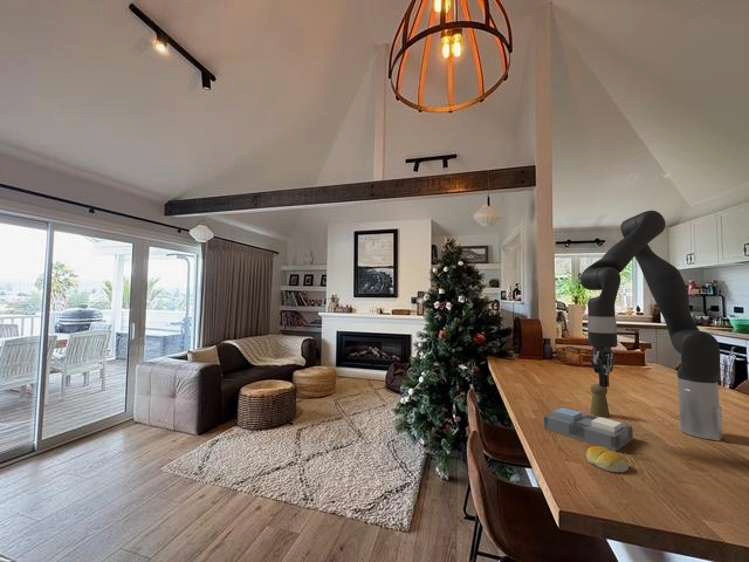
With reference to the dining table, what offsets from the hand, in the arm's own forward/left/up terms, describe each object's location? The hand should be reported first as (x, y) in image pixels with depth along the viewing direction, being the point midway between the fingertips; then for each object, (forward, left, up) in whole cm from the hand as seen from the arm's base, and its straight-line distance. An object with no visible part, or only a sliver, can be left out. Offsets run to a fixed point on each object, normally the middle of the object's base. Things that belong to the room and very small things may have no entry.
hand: (604, 386), depth 99 cm
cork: (+10, -24, -16) cm, 31 cm away
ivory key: (0, 0, -13) cm, 13 cm away
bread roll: (-6, +17, -17) cm, 25 cm away
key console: (+5, 0, -16) cm, 17 cm away
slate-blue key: (+11, 0, -13) cm, 17 cm away
